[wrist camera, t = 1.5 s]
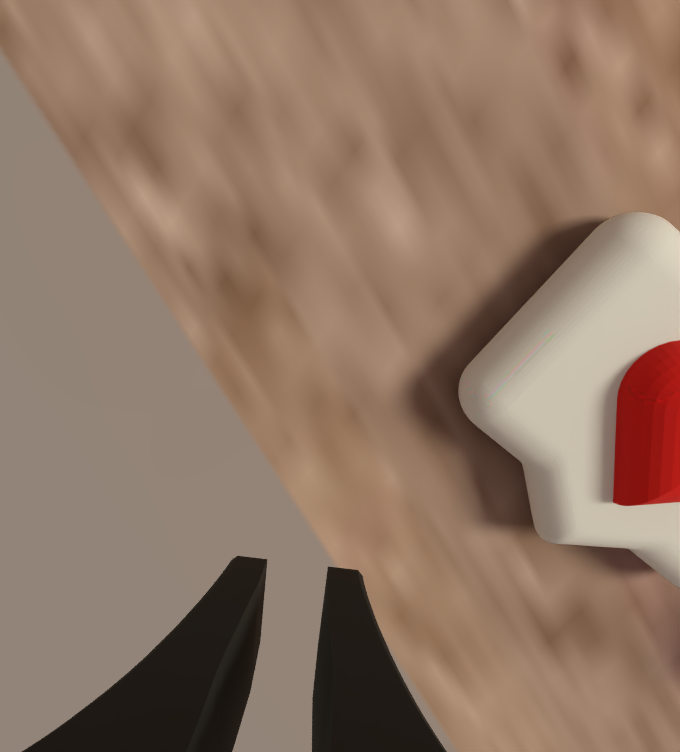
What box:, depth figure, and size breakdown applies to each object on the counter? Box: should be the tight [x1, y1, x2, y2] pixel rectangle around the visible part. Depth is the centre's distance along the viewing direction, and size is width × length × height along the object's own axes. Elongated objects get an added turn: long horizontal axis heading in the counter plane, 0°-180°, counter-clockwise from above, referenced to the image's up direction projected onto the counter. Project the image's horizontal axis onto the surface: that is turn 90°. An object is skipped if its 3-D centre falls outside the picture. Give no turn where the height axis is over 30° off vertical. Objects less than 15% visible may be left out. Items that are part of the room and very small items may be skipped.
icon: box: [458, 212, 680, 588], centre depth 18 cm, size 12×4×10 cm
